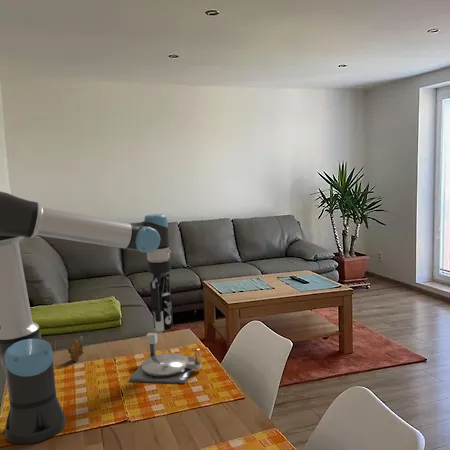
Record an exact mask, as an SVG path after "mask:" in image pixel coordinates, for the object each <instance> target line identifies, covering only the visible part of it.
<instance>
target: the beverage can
mask: <svg viewBox="0 0 450 450" xmlns="http://www.w3.org/2000/svg"><path fill="white" fill-rule="evenodd" d="M171 301H172V295H171V296H170V293H169V292H166V293H162V311H163V320H164V331H168V330H170V329H172V328H173V326H174V321H173V305H172V304H173V301H172V302H171ZM152 322H153V323H152V324H153V328H154V329H155V330H156V328H155V313H154V312H152Z"/></svg>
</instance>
